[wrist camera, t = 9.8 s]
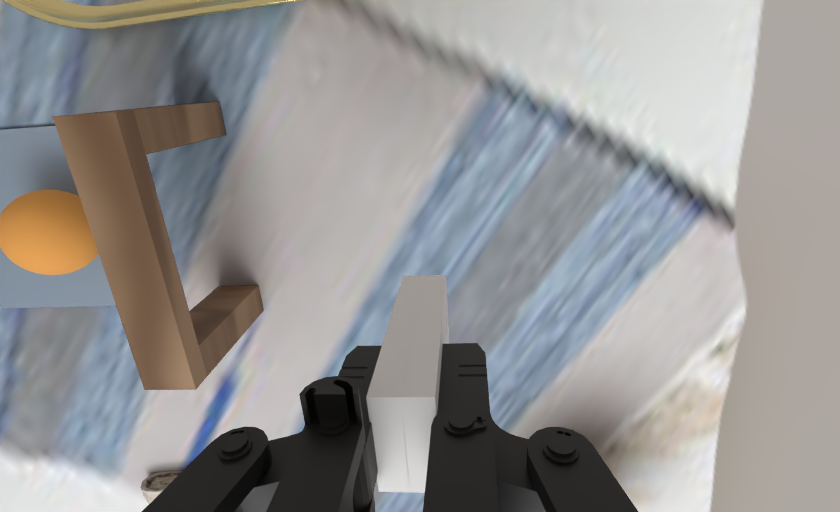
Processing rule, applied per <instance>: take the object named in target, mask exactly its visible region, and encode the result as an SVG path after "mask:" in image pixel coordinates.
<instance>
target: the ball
mask: <svg viewBox="0 0 840 512" xmlns="http://www.w3.org/2000/svg"><path fill="white" fill-rule="evenodd" d="M0 248H1V250H2V251H3V252H4V254H5V255H6V256H7V257H8V258H9V259H10V260H11V261H12V262H13V263H15V264H16V265H18V266H19V267H21V268H23V269H25V270H28V271H30V272H34V273H38V274H43V275H62V274H68V273H71V272H74V271H77V270H79V269H82V268H83V267H85V266H87V265H88V264H89V263H91V262H92V261H93V260H94V259H95V258H96V257H97V256H98V254H99V253H98V250H97V247H96V244H95V241H94V238H93V235H92V233H91V230H90V227H89V224H88V221H87V218H86V215H85V212H84V209H83V206H82V203H81V200H80V197H79V196H77V195H75V194H72V193H69V192H65V191H61V190H37V191H33V192H29V193H26V194H24V195H21V196H20V197H18V198H16V199H15V200H13V201H12V202H11V203H9V204H8V205H7V206H6V207H5V208H4V210H3V211H2V213H1V214H0Z"/></svg>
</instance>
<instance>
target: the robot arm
mask: <svg viewBox="0 0 840 512" xmlns="http://www.w3.org/2000/svg"><path fill="white" fill-rule="evenodd" d="M299 395H300V400H301V405H302V410H303V415H304V420H305V426H304V429H303V431H302V432H300V433H298V434H294V435H291V436H288V437H283V438H279V439H275V440H271V441H268V438H267V436H266V434H265V433H264V431H263V430H261V429H258V428H256V427H242V428H237V429H233V430H231V431H228V432H226V433H224V434H222V435H220V436H219V437H218V438H216V439H215V440H214V441H213V442H211V443H210V444H209V445H208V446H207V447H206V448H205V449H204V450H203V451H202V452H201V453H200V454H199V455H198V456H197V457H196V458H195V459H194V460H193V461H192V462H191V463H190V464H189V465H188V466H187V467H186V468H185V469H184V470H183V471H182V472H181V473H180V474H179V475H178V476H177V477H176V478H175V479H174V480H173V481H172V482H171V483H170V484H169V485H168V486H167V487H166V488H165V489H164V490H163V491H162V492H161V493H160V494H159V495H158V496H157V497H156V498H155V499H154V500H153V501H152V502H151V503H150V504H149V505H148V506H147V507H146V508H145V509H144V510H143V511H142V512H375V501H374V494H373V492H374V487H375V483H376V478H377V481H378V489H379V492H419V493H425V497H424V507H423V512H638V511H637V509H636V508H635V506H634V505H633V503H632V502H631V500H630V499H629V498H628V496H627V495H626V493H625V492H624V490H623V489H622V487H621V486H620V484H619V483H618V481H617V480H616V479H615V477H614V476H613V474H612V473H611V471H610V470H609V468H608V467H607V465H606V464H605V463H604V461H603V460H602V458H601V457H600V455H599V454H598V452H597V451H596V449H595V448H594V447H593V445H592V444H591V443H590V442H589V441H588V440H587V439H586V438H585V437H584V436H582V435H581V434H579V433H577V432H575V431H573V430H570V429H565V428H561V427H547V428H544V429H541V430H538V431H536V432H535V433H534V434H533V435H532V436H531V437H530V438H529V439H525V438H521V437H518V436H515V435H512V434H509V433H507V432H506V431H504V430H502V429H501V428H500V427H498V426H497V425H496V424H495V422H494V421H493V419H492V418H491V414H490V406H489V394H488V381H487V368H486V356H485V352H484V351H483V350H482V349H481V347H480V346H479V345H478V344H477V343H461V344H449V325H448V306H447V287H446V275H428V276H403V278H402V281H401V284H400V288H399V291H398V294H397V298H396V301H395V304H394V307H393V311H392V314H391V317H390V321H389V324H388V327H387V330H386V334H385V337H384V340H383V344H382V346H357V347H356V348H355V349H353V350H352V351H351V352H350V353H349V354H348V355H347V356H346V358H345V360H344V363H343V365H342V369H341V370H340V372H339V375H338V376H333V377H325V378H322V379H320V380H317V381H314V382H313V383H311V384H310V385H308V386H306V387H305V388H304V389H303V391H302V392H301V393H300V394H299Z"/></svg>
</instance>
